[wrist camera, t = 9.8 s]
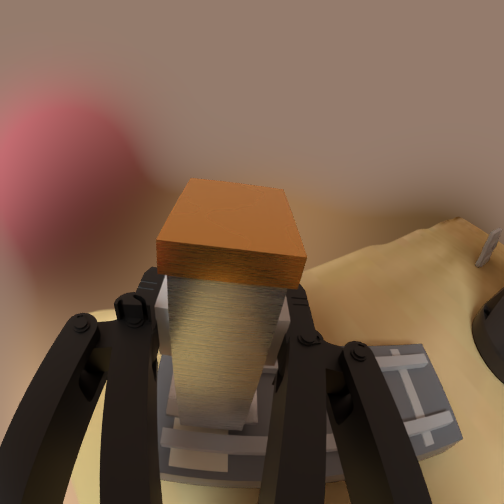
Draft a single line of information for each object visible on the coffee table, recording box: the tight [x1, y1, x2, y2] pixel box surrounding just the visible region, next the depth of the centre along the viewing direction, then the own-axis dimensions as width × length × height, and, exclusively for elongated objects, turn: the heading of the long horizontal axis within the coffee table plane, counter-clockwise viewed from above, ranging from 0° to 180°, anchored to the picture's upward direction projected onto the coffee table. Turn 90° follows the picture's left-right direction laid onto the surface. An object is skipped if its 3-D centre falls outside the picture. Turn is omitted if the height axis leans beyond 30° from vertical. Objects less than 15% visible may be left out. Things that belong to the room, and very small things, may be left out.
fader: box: [156, 178, 307, 431], centre depth 12 cm, size 5×5×11 cm
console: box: [157, 344, 463, 488], centre depth 16 cm, size 21×10×3 cm, turn 91°
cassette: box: [475, 228, 502, 267], centre depth 43 cm, size 12×2×8 cm, turn 119°
